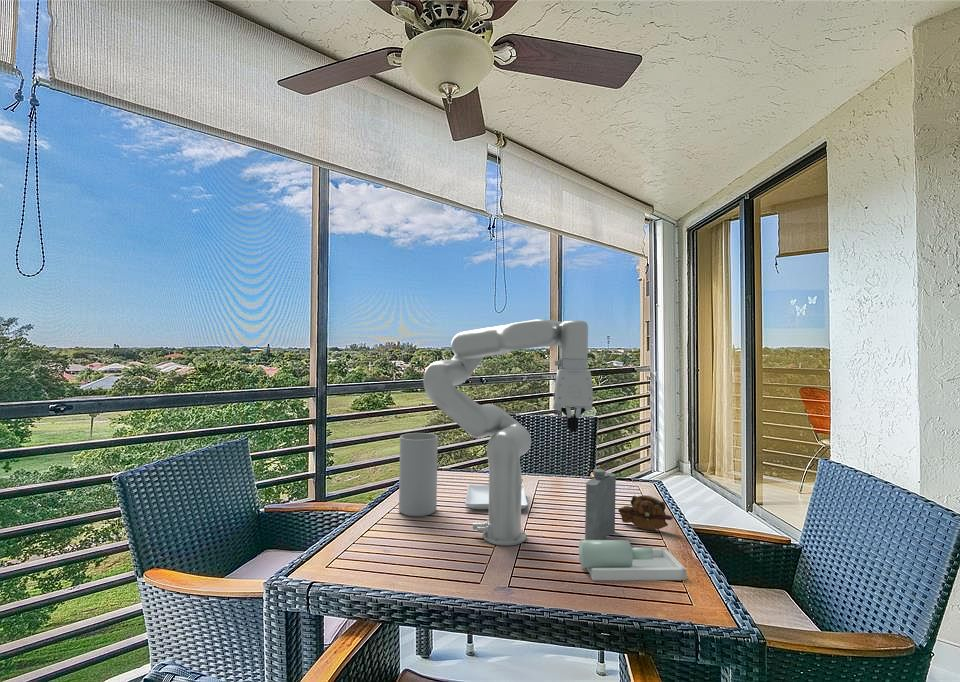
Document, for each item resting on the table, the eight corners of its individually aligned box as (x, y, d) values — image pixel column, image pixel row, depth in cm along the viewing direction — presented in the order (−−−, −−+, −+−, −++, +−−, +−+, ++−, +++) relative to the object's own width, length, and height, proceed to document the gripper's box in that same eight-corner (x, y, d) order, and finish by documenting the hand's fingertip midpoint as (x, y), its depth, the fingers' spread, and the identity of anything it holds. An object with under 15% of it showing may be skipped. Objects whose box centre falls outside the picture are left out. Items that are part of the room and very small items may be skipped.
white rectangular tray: (592, 580, 123) (592, 570, 123) (579, 557, 136) (580, 548, 136) (686, 579, 124) (686, 569, 124) (664, 557, 137) (665, 548, 137)
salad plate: (528, 514, 170) (528, 504, 170) (464, 512, 170) (464, 502, 170) (523, 494, 191) (523, 485, 191) (467, 493, 192) (467, 484, 192)
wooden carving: (616, 526, 159) (617, 494, 159) (619, 521, 164) (620, 490, 164) (672, 536, 152) (673, 503, 152) (674, 531, 156) (674, 498, 156)
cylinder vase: (396, 517, 164) (397, 439, 164) (401, 504, 177) (402, 432, 176) (435, 517, 165) (436, 440, 164) (437, 504, 177) (438, 433, 177)
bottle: (585, 548, 126) (657, 548, 126) (579, 535, 132) (647, 535, 133) (584, 572, 127) (655, 572, 127) (578, 557, 133) (646, 557, 134)
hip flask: (593, 548, 143) (594, 476, 143) (580, 544, 145) (581, 474, 145) (616, 531, 155) (617, 466, 155) (604, 528, 158) (605, 464, 158)
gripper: (548, 365, 137) (547, 433, 137) (603, 366, 137) (602, 434, 137) (544, 364, 144) (543, 428, 144) (597, 365, 144) (596, 429, 145)
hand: (572, 431), depth 141 cm, fingers closed
